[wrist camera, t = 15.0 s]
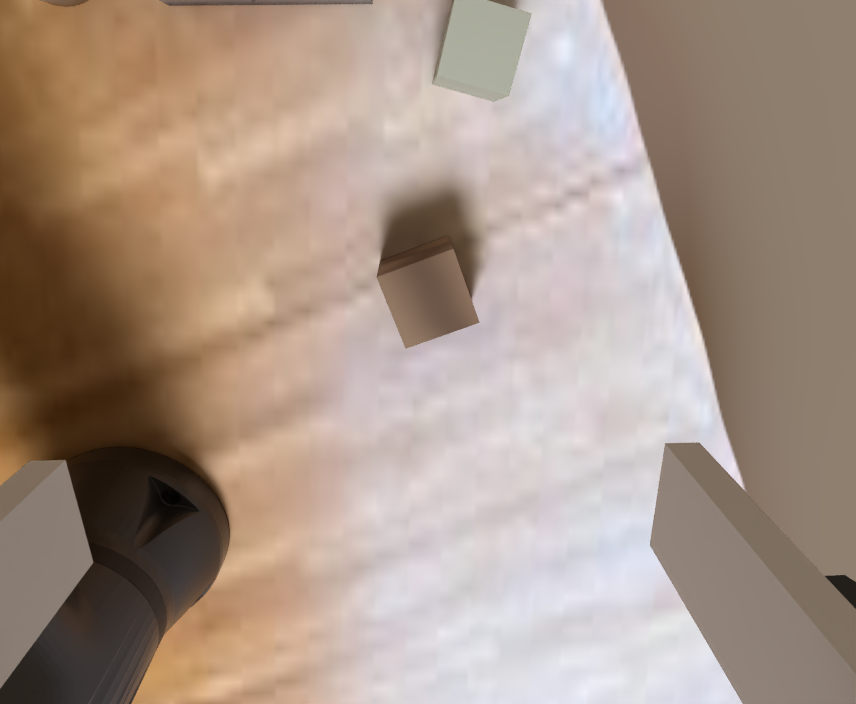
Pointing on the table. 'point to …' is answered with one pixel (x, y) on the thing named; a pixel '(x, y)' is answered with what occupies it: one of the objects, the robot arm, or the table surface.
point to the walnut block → (426, 292)
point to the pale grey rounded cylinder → (65, 2)
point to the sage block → (481, 48)
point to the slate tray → (261, 2)
